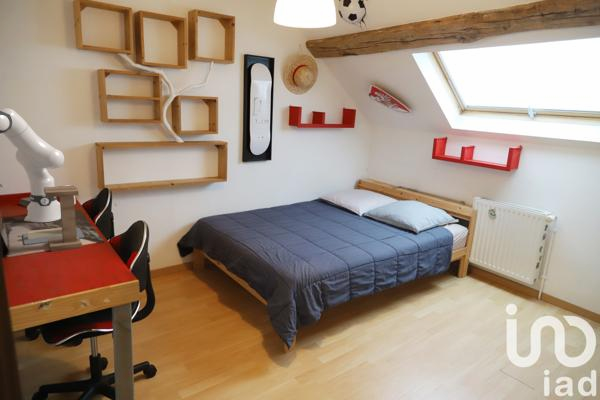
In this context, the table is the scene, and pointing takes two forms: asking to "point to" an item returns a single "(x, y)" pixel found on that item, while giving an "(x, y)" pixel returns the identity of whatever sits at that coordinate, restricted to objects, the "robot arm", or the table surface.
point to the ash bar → (45, 233)
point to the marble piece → (25, 201)
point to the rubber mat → (46, 238)
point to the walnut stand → (65, 218)
